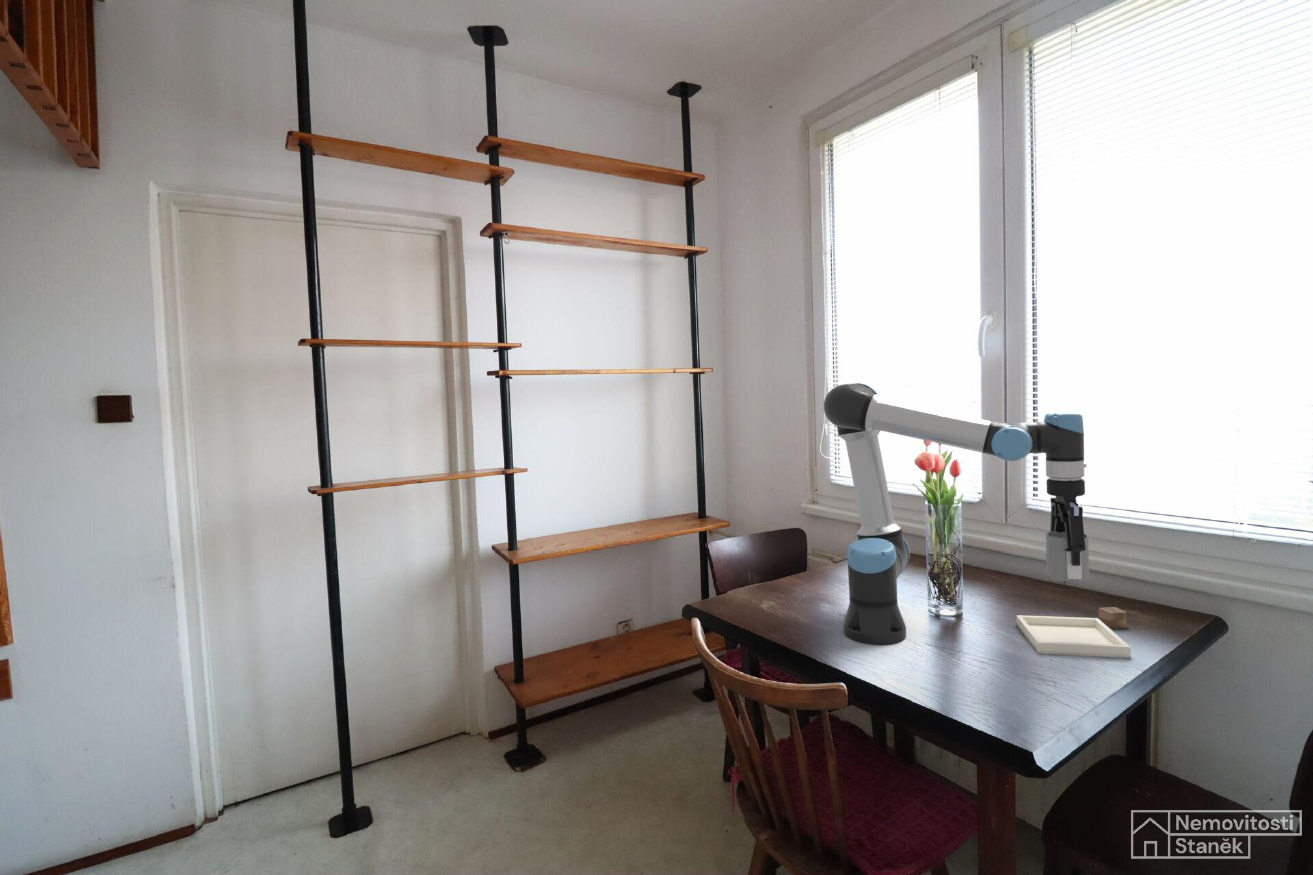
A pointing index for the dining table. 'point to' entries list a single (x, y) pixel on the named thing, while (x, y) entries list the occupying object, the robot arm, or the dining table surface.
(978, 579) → the dining table surface
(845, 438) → the robot arm
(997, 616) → the dining table surface
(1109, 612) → the walnut block
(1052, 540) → the cup
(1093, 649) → the tray
